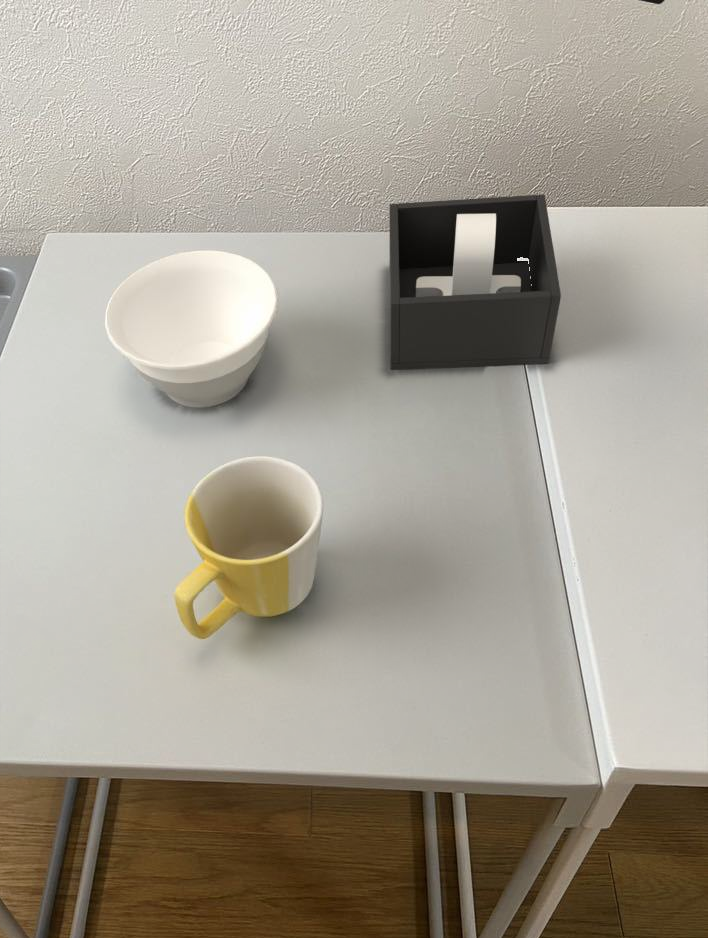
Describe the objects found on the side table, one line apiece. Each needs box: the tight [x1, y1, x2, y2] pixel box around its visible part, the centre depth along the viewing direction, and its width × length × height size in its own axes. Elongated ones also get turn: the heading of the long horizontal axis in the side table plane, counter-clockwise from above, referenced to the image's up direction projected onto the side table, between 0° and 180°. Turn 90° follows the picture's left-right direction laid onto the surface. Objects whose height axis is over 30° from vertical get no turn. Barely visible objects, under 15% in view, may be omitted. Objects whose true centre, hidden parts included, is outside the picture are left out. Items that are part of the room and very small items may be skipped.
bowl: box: [104, 249, 279, 408], centre depth 88 cm, size 16×16×9 cm
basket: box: [388, 194, 562, 370], centre depth 89 cm, size 15×15×8 cm
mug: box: [173, 455, 324, 640], centre depth 72 cm, size 14×10×10 cm
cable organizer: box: [416, 214, 521, 297], centre depth 87 cm, size 5×10×10 cm, turn 82°
